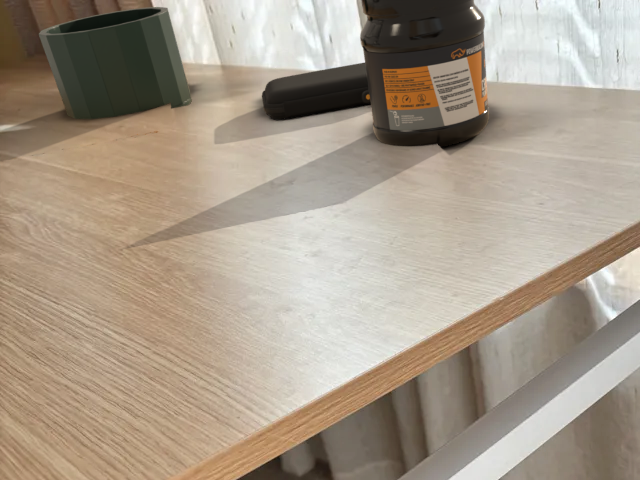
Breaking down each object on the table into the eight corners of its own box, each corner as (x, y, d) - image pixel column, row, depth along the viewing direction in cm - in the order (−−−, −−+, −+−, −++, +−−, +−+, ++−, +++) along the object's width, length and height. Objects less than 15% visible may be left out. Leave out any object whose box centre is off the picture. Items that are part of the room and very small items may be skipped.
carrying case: (268, 132, 82) (410, 106, 83) (261, 99, 80) (406, 72, 81) (264, 109, 91) (394, 85, 91) (258, 78, 89) (390, 54, 89)
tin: (67, 137, 93) (32, 41, 87) (76, 110, 104) (46, 24, 98) (194, 112, 94) (168, 16, 88) (189, 88, 105) (166, 2, 99)
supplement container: (475, 150, 68) (464, -21, 61) (359, 156, 72) (334, -6, 64) (501, 115, 76) (494, -41, 68) (394, 122, 79) (376, -27, 71)
